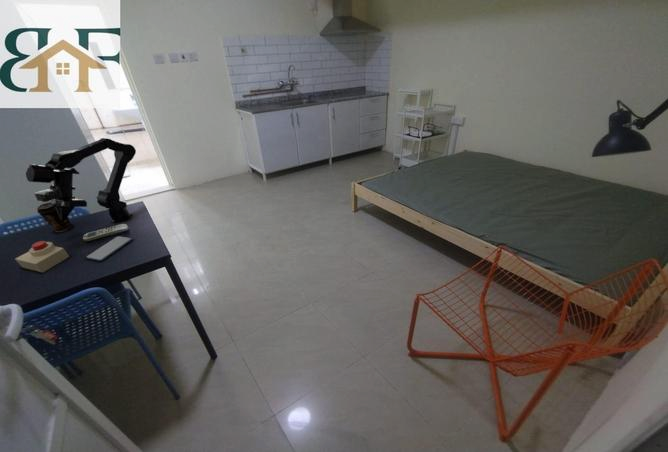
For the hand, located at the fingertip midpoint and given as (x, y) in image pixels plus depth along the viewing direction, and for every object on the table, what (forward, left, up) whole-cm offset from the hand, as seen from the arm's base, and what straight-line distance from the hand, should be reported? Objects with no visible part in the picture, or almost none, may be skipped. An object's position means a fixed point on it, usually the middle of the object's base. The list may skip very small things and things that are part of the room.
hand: (62, 220), depth 118 cm
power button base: (+6, +12, -11) cm, 18 cm away
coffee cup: (+11, -16, -11) cm, 23 cm away
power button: (+5, +11, -5) cm, 13 cm away
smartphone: (-17, +12, -11) cm, 24 cm away
